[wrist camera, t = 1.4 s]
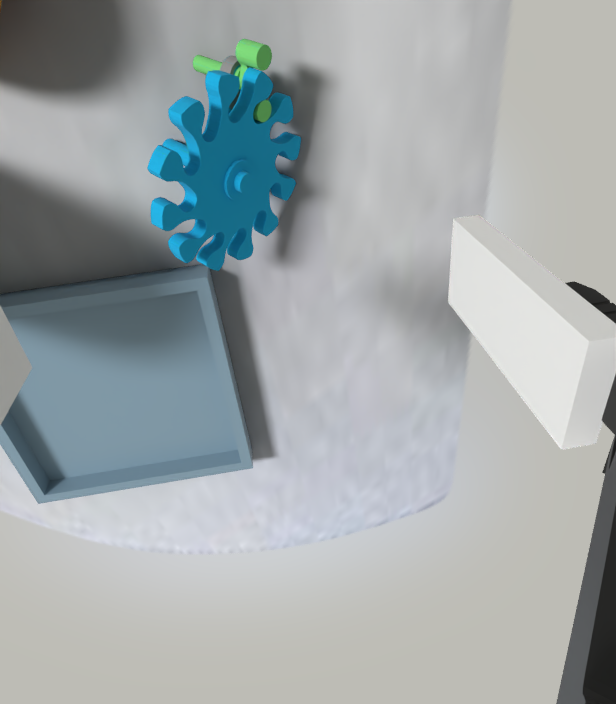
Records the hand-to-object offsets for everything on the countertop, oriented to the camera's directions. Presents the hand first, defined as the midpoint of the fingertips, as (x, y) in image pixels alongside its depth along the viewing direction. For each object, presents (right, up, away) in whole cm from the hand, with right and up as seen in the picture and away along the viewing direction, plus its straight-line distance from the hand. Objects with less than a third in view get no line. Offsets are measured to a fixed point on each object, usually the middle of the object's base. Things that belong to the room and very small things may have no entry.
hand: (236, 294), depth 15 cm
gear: (-2, +10, +14) cm, 17 cm away
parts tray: (-12, -4, +22) cm, 25 cm away
